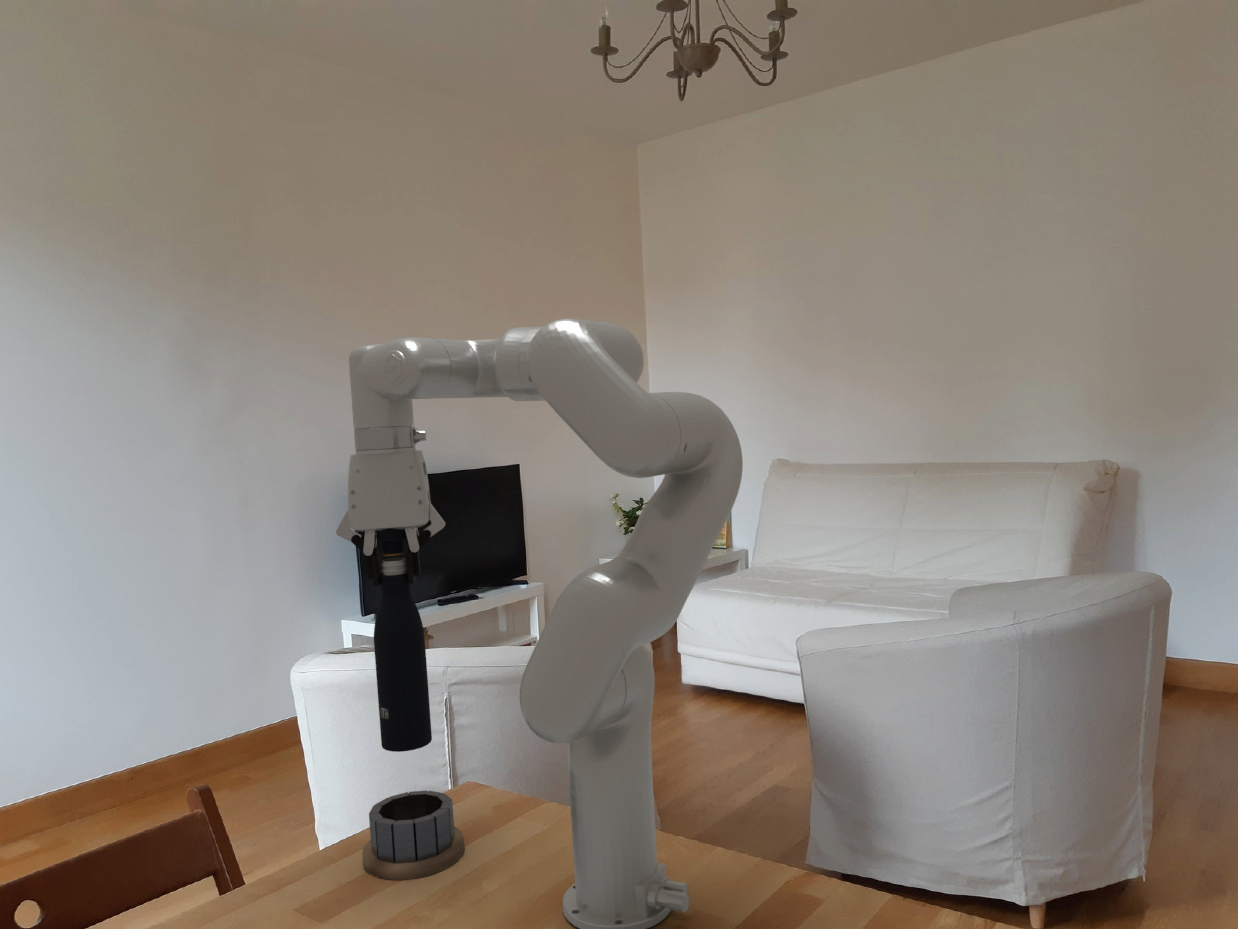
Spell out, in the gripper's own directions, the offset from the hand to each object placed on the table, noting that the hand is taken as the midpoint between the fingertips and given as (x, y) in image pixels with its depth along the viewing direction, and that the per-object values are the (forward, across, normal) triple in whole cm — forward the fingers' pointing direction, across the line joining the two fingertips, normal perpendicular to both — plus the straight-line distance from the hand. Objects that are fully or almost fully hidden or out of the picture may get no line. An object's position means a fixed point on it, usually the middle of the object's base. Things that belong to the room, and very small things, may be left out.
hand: (395, 581), depth 121 cm
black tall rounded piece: (+21, 0, 0) cm, 21 cm away
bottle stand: (+36, 0, 0) cm, 36 cm away
